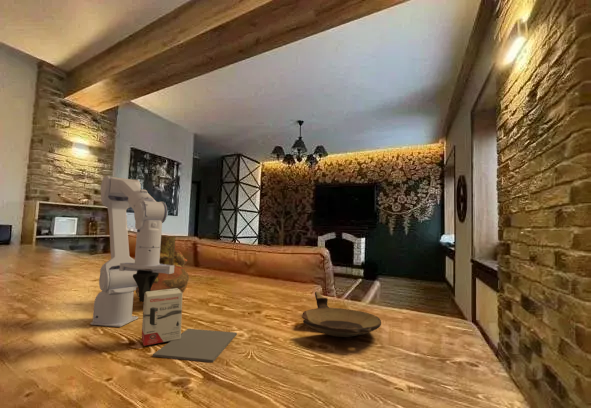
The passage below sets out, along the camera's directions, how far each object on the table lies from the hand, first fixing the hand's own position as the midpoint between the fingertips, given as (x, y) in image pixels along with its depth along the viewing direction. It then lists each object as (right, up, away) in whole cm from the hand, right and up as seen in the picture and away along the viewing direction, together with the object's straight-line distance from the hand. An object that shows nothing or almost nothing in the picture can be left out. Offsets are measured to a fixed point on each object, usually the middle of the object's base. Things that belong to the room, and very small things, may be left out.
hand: (144, 300), depth 73 cm
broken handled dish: (+52, -13, +11) cm, 54 cm away
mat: (+15, -10, -2) cm, 18 cm away
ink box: (+5, -10, -1) cm, 11 cm away
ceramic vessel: (-10, -12, +33) cm, 36 cm away
